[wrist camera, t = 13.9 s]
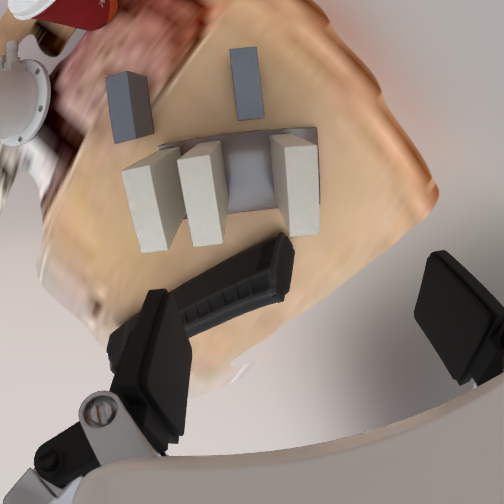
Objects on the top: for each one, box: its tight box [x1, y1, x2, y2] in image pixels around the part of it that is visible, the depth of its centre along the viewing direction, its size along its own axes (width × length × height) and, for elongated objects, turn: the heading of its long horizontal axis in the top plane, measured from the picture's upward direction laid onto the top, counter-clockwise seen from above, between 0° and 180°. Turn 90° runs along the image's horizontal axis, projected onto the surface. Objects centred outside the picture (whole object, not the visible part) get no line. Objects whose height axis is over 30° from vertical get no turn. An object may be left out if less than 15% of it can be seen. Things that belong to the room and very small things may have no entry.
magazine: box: [107, 232, 295, 374], centre depth 34 cm, size 17×3×30 cm
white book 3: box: [269, 134, 320, 237], centre depth 25 cm, size 7×2×11 cm, turn 6°
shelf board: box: [159, 127, 320, 219], centre depth 31 cm, size 9×17×1 cm, turn 96°
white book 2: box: [177, 140, 229, 247], centre depth 25 cm, size 7×2×11 cm, turn 6°
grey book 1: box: [105, 71, 154, 144], centre depth 25 cm, size 7×2×6 cm, turn 6°
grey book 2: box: [229, 47, 264, 121], centre depth 24 cm, size 7×2×6 cm, turn 6°
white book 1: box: [121, 147, 186, 253], centre depth 25 cm, size 7×2×11 cm, turn 6°
